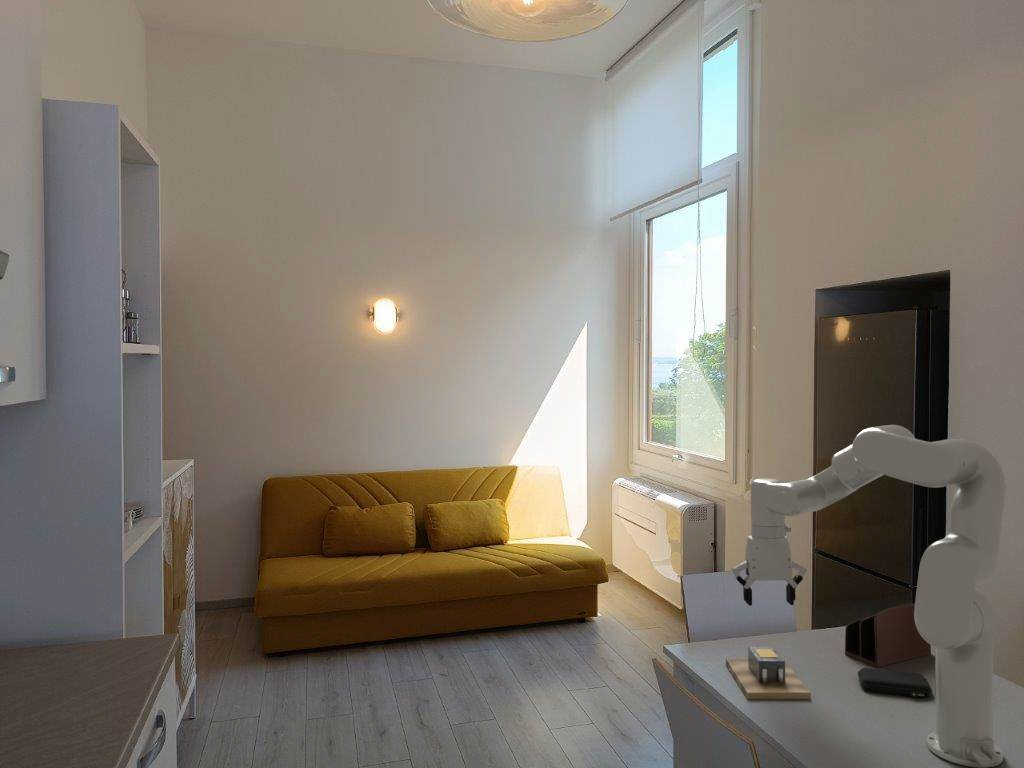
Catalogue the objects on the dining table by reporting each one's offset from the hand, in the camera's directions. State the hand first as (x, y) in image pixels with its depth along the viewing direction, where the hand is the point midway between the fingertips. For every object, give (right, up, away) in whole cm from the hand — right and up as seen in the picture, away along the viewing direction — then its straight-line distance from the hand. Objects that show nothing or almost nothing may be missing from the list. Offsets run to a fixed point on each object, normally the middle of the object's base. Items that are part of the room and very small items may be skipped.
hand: (769, 603), depth 178 cm
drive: (-1, -17, 0) cm, 17 cm away
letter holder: (+36, -18, +16) cm, 43 cm away
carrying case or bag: (+27, -19, -5) cm, 33 cm away
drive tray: (-1, -19, +1) cm, 19 cm away
